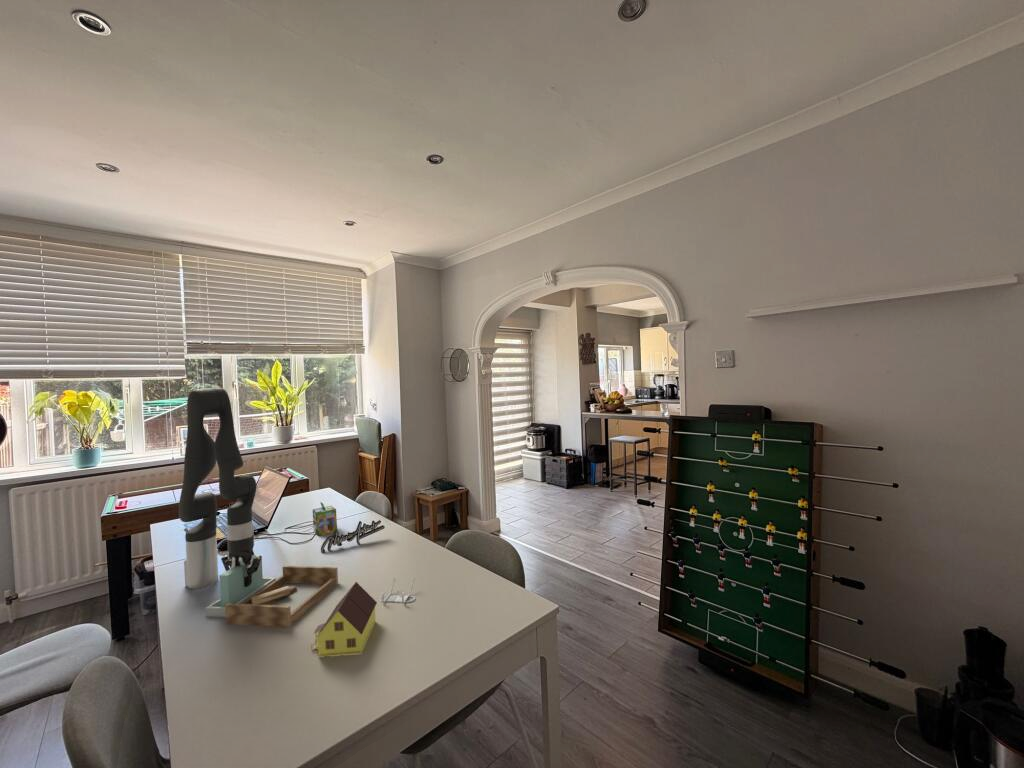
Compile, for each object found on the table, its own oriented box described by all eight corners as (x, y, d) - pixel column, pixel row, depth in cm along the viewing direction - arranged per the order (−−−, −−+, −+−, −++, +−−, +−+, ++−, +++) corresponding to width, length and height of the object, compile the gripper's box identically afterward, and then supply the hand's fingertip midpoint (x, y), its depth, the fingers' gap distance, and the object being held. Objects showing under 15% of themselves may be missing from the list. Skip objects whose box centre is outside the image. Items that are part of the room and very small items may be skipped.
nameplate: (324, 560, 181) (317, 539, 179) (323, 559, 182) (317, 538, 181) (386, 532, 195) (380, 512, 193) (385, 531, 196) (379, 511, 195)
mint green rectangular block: (220, 609, 135) (219, 575, 135) (255, 586, 150) (254, 555, 150) (229, 609, 135) (227, 575, 135) (263, 586, 150) (261, 555, 150)
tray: (206, 617, 133) (205, 607, 133) (254, 585, 154) (254, 577, 153) (230, 618, 132) (230, 608, 132) (276, 586, 152) (275, 577, 152)
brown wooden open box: (225, 624, 129) (224, 605, 129) (284, 581, 155) (284, 565, 155) (288, 627, 126) (288, 607, 126) (338, 583, 153) (337, 567, 152)
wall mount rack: (375, 605, 137) (374, 592, 137) (388, 589, 147) (387, 576, 147) (411, 606, 136) (410, 592, 136) (421, 590, 146) (421, 577, 146)
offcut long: (240, 618, 133) (240, 611, 133) (291, 591, 149) (291, 585, 149) (245, 620, 132) (245, 613, 132) (296, 592, 148) (296, 586, 148)
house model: (298, 667, 109) (296, 618, 108) (326, 622, 129) (324, 581, 128) (369, 661, 110) (368, 613, 110) (386, 618, 130) (385, 577, 130)
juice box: (337, 532, 205) (336, 502, 205) (317, 537, 200) (316, 506, 200) (332, 527, 213) (331, 498, 213) (313, 532, 207) (311, 502, 207)
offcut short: (251, 603, 138) (250, 597, 138) (288, 590, 145) (287, 585, 145) (252, 606, 136) (252, 600, 136) (290, 593, 143) (289, 588, 143)
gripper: (212, 539, 140) (214, 590, 140) (251, 539, 138) (253, 592, 138) (230, 530, 147) (232, 579, 147) (267, 531, 145) (269, 581, 145)
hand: (242, 585), depth 143 cm, fingers open, 3 cm apart
